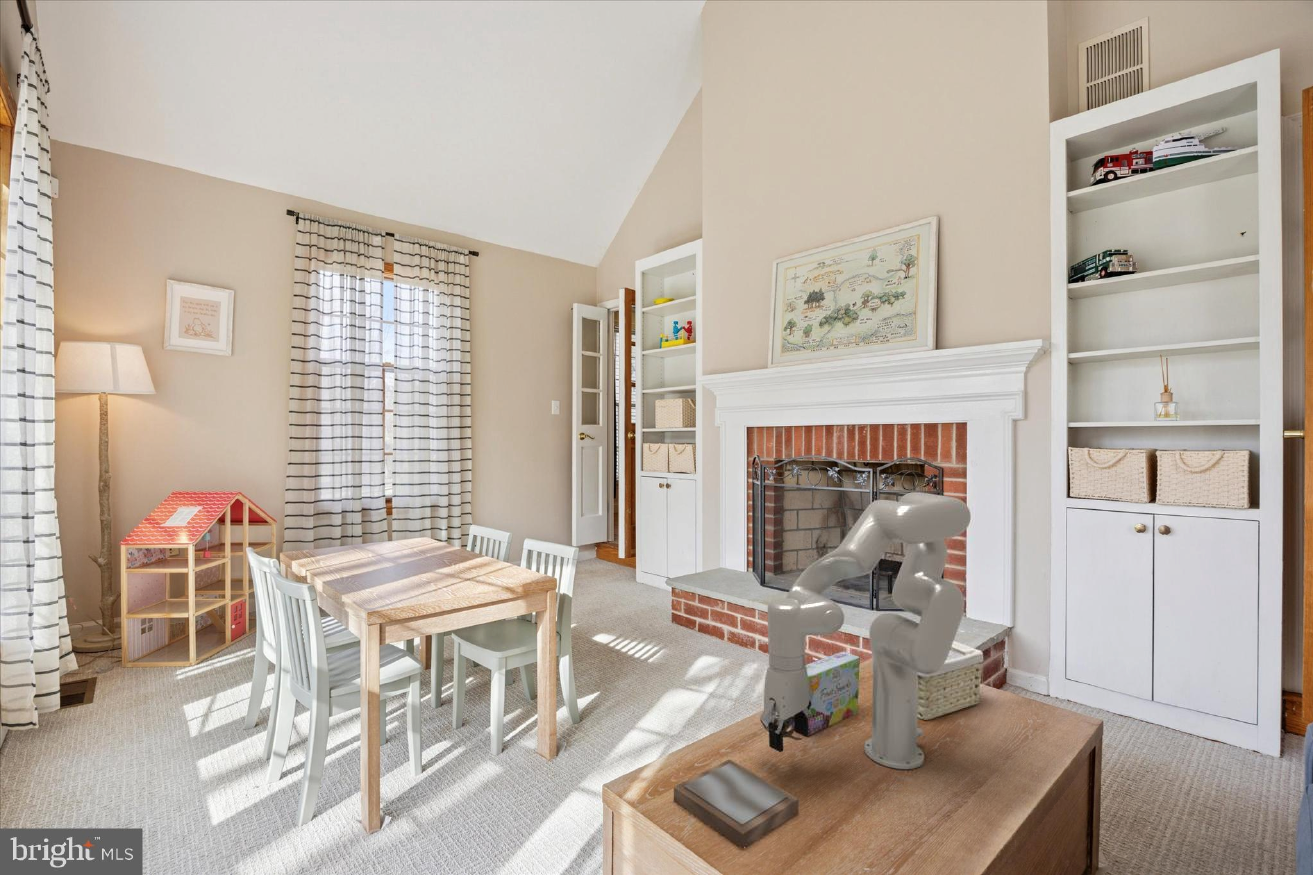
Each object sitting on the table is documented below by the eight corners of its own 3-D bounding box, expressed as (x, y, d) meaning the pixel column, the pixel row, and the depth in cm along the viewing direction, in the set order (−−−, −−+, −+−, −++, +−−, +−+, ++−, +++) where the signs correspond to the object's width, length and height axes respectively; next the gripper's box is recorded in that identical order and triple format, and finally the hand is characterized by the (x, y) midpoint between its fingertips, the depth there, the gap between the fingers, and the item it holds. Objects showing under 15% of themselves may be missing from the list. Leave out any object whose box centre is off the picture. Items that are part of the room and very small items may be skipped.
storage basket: (923, 725, 154) (924, 666, 153) (873, 698, 168) (874, 645, 168) (985, 706, 165) (987, 651, 164) (933, 683, 179) (935, 632, 179)
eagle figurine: (795, 757, 127) (788, 737, 136) (807, 725, 127) (799, 707, 136) (760, 744, 128) (755, 725, 137) (771, 712, 128) (766, 695, 137)
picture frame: (729, 771, 132) (729, 757, 132) (798, 812, 118) (798, 797, 118) (673, 800, 121) (673, 785, 121) (742, 849, 108) (742, 832, 108)
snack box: (809, 738, 146) (810, 675, 146) (790, 729, 150) (791, 668, 150) (859, 713, 159) (860, 655, 159) (840, 705, 164) (842, 649, 164)
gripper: (797, 643, 137) (799, 720, 138) (745, 666, 126) (748, 750, 127) (826, 652, 132) (828, 733, 132) (774, 677, 120) (777, 765, 121)
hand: (789, 741), depth 130 cm, fingers closed on eagle figurine, 7 cm apart
